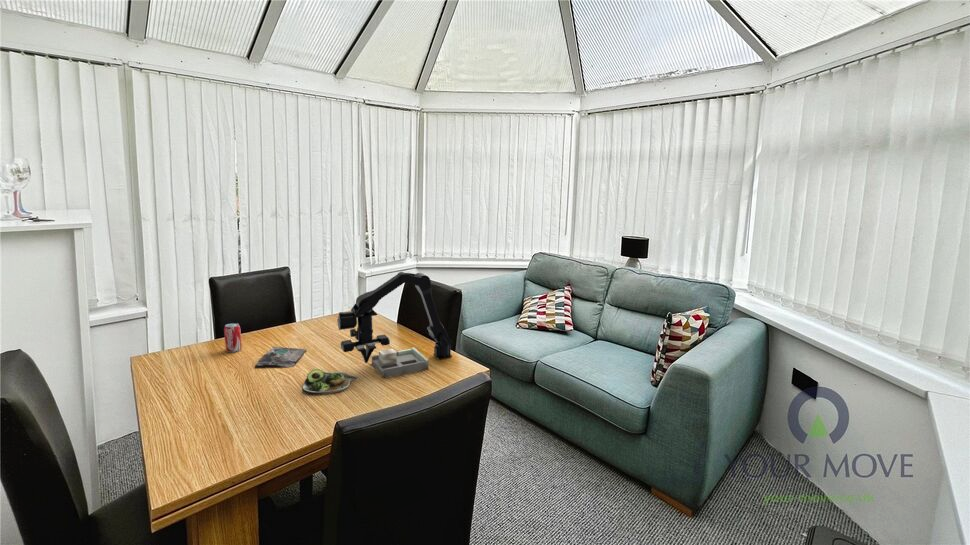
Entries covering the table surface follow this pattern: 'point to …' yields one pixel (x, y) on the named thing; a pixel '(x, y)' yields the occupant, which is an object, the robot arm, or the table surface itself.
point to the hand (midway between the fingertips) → (366, 362)
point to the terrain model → (280, 358)
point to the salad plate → (325, 382)
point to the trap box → (401, 363)
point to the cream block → (387, 356)
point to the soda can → (232, 337)
